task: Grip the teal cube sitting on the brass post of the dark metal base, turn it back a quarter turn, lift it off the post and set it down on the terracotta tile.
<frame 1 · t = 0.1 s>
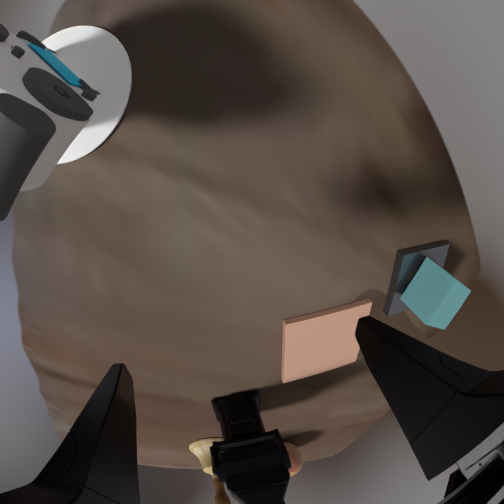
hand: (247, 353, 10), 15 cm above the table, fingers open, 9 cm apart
post base: (414, 275, 32), on the table
apple: (274, 444, 47), on the table
tile: (323, 342, 33), on the table
teal cube: (424, 283, 30), point 2 cm above the table, touching post base
hand bell: (211, 444, 41), on the table
white stand: (67, 95, 15), on the table
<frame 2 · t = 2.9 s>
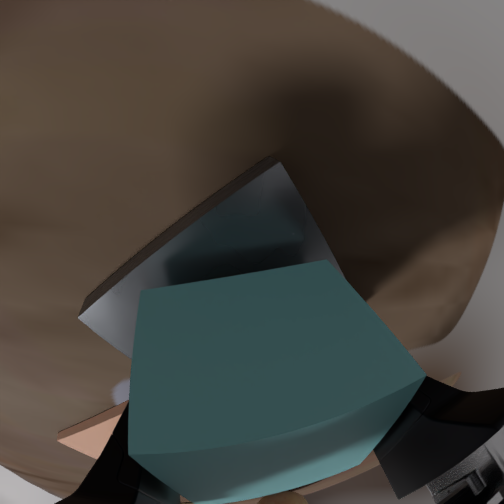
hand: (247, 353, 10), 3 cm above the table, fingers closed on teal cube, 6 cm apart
post base: (234, 309, 12), on the table
apple: (275, 492, 32), on the table
tile: (150, 445, 16), on the table
teal cube: (243, 343, 10), point 2 cm above the table, touching gripper, post base
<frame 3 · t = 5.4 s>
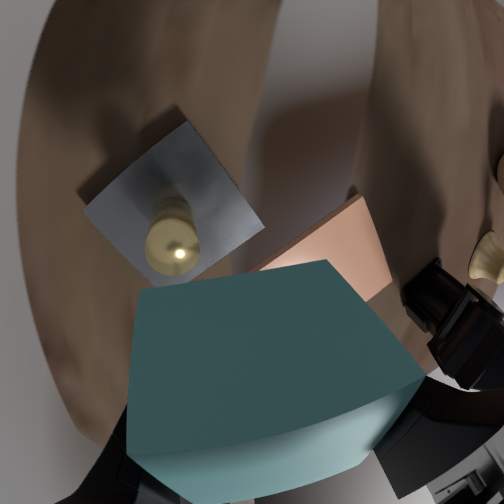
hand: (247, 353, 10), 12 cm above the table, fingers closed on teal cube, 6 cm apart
post base: (173, 212, 19), on the table
apple: (500, 169, 26), on the table
tile: (330, 274, 25), on the table
teal cube: (243, 342, 10), point 12 cm above the table, touching gripper
hand bell: (481, 254, 33), on the table
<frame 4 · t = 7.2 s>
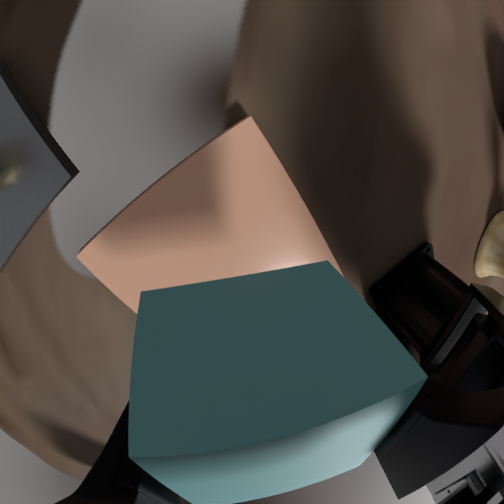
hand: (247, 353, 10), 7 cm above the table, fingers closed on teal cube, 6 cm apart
tile: (218, 261, 15), on the table
teal cube: (244, 344, 10), point 6 cm above the table, touching gripper
hand bell: (491, 243, 23), on the table
when the fingers open (3 cm above the table, at t = 8.4 s): teal cube drops 2 cm, resting on tile.
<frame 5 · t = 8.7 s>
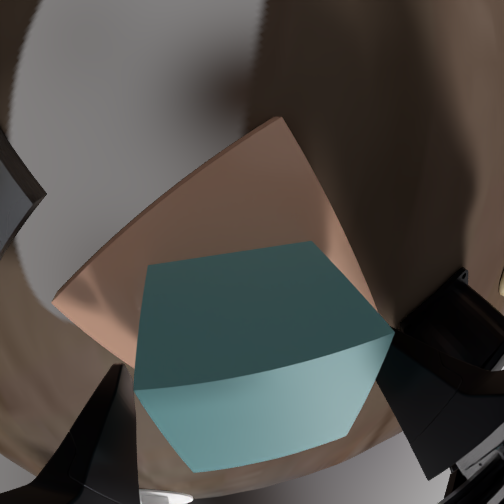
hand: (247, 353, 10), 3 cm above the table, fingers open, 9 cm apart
tile: (232, 306, 12), on the table
teal cube: (238, 317, 11), point 1 cm above the table, touching tile
white stand: (154, 495, 26), on the table
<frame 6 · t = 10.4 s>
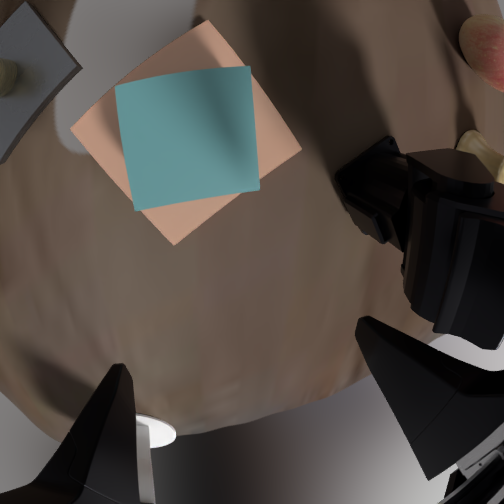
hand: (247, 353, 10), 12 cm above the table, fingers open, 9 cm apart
post base: (11, 79, 11), on the table
apple: (467, 50, 17), on the table
tile: (185, 131, 16), on the table
teal cube: (187, 131, 16), point 1 cm above the table, touching tile
hand bell: (469, 163, 23), on the table
white stand: (136, 429, 30), on the table
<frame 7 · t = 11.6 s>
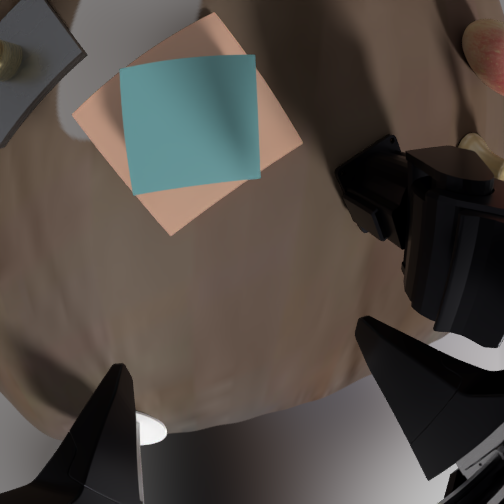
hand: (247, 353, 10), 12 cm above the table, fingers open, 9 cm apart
post base: (16, 64, 10), on the table
apple: (470, 54, 17), on the table
tile: (187, 120, 16), on the table
teal cube: (189, 120, 15), point 1 cm above the table, touching tile
hand bell: (469, 166, 23), on the table
white stand: (126, 425, 30), on the table
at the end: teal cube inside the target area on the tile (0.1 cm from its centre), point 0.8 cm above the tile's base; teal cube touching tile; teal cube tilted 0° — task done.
